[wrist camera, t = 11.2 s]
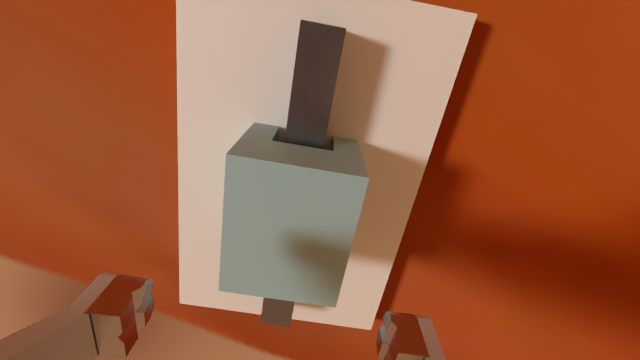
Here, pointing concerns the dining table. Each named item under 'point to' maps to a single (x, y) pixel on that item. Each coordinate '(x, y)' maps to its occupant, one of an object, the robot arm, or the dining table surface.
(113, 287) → the robot arm
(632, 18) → the dining table surface
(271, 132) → the channel block
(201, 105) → the mounting board
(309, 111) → the metal rail
